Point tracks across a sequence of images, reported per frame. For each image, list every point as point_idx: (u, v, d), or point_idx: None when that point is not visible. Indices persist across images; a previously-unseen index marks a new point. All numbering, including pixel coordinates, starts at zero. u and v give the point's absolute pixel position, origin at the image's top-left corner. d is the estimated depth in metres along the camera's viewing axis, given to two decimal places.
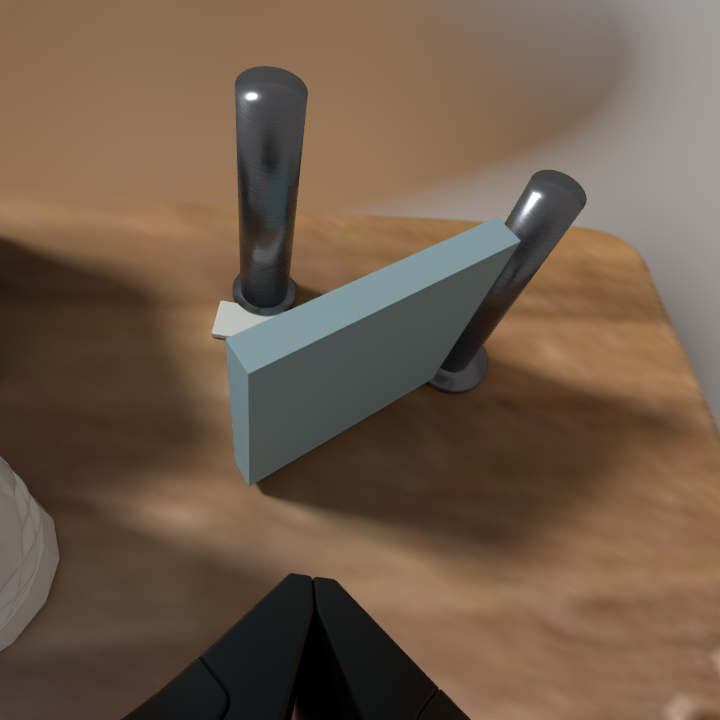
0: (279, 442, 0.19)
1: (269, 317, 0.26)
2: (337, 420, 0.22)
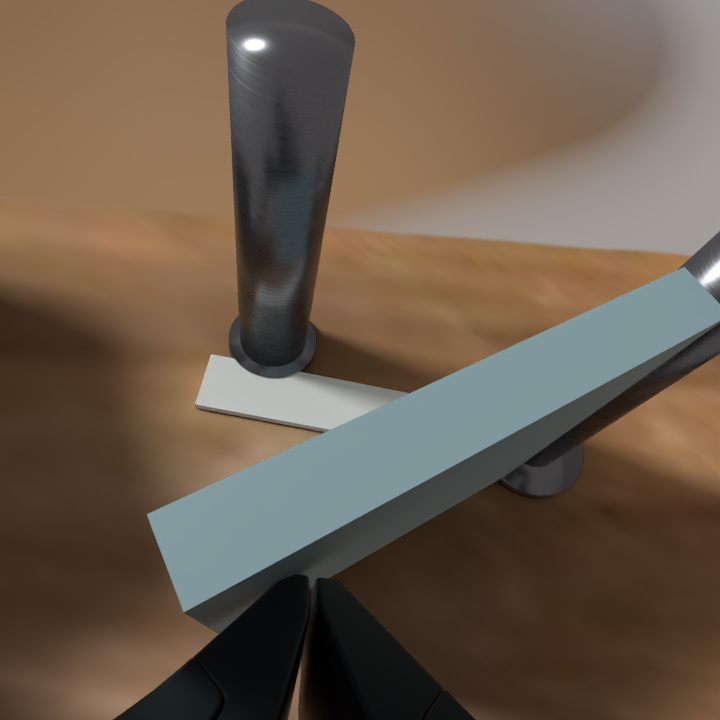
0: None
1: (278, 380, 0.19)
2: (367, 551, 0.14)
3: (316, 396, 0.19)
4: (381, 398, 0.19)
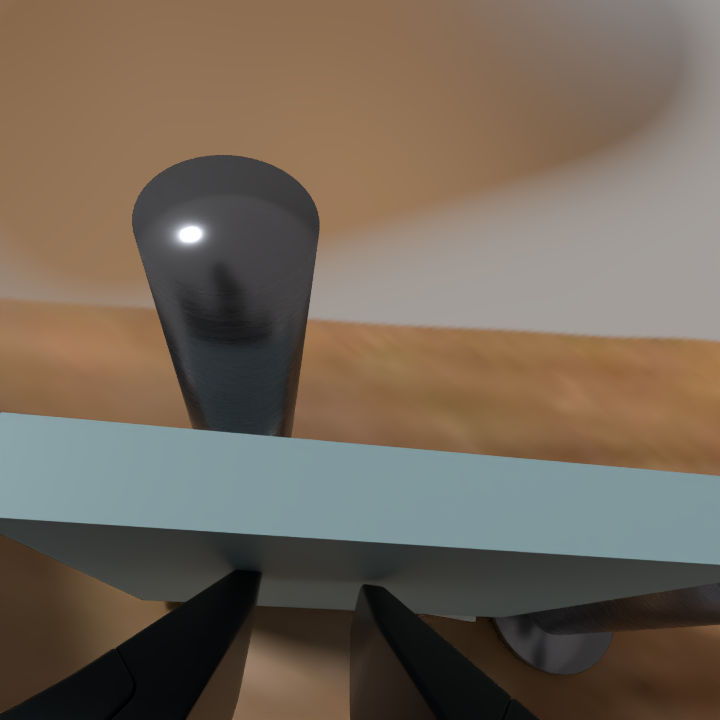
0: (170, 588, 0.11)
1: None
2: (298, 600, 0.13)
3: None
4: None
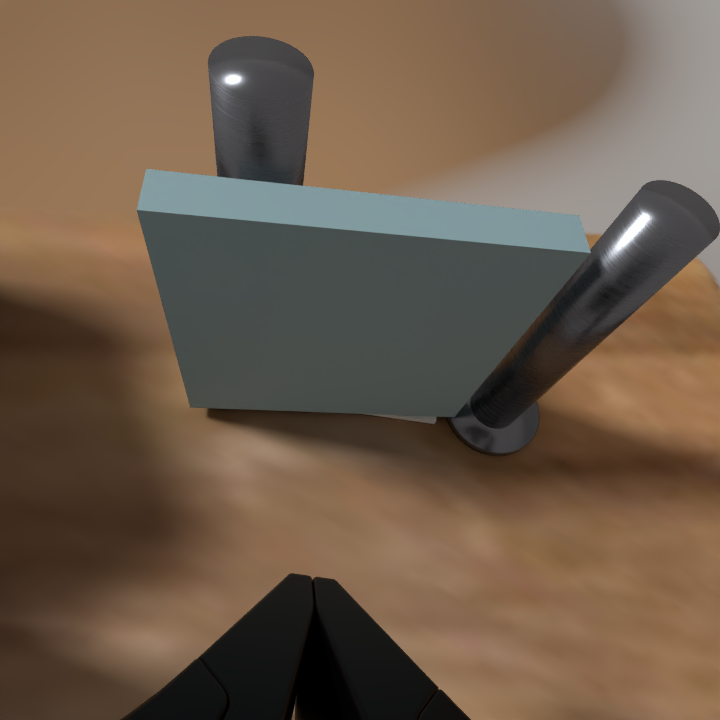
0: (219, 365, 0.17)
1: None
2: (306, 387, 0.18)
3: None
4: None
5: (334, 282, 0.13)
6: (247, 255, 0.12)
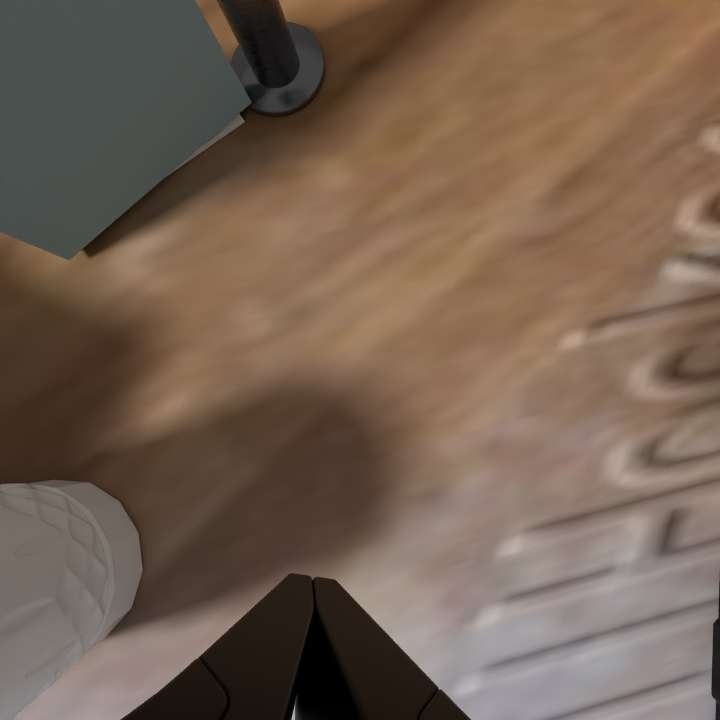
0: (30, 210, 0.19)
1: None
2: (113, 175, 0.20)
3: None
4: None
5: None
6: None
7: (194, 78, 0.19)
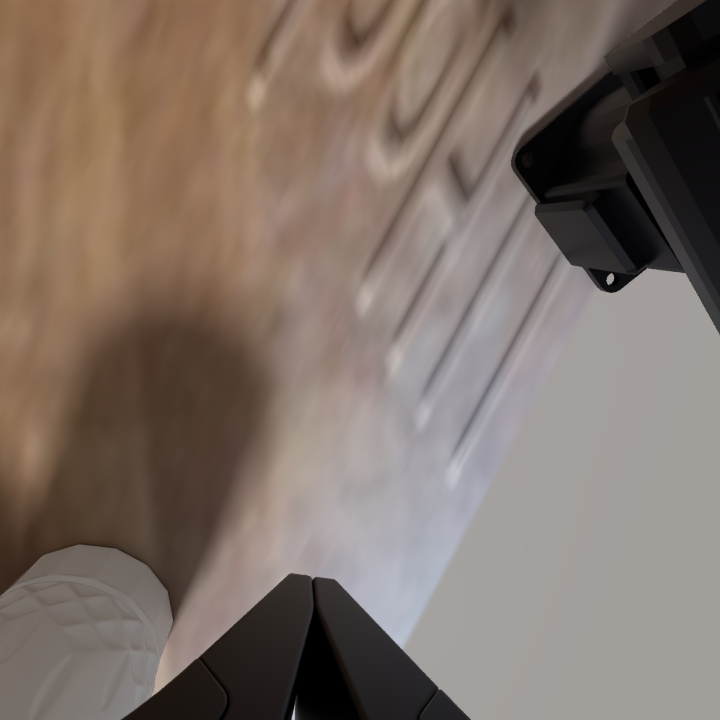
0: None
1: None
2: None
3: None
4: None
5: None
6: None
7: None
